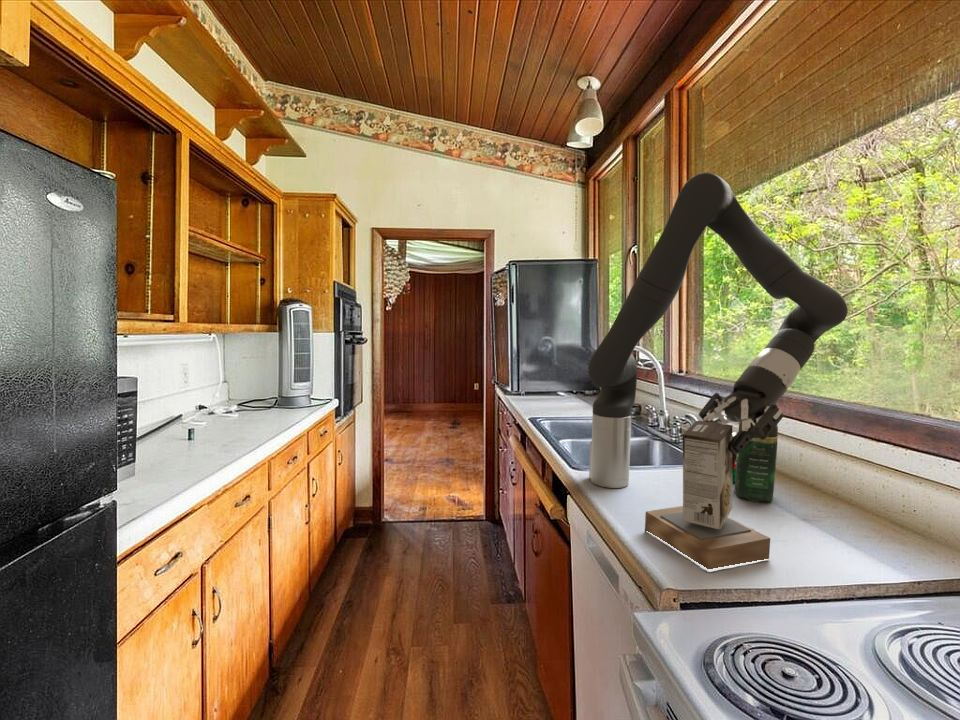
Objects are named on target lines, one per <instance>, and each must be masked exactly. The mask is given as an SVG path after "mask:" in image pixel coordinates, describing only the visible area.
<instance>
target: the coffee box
mask: <svg viewBox="0 0 960 720" xmlns="http://www.w3.org/2000/svg"><path fill="white" fill-rule="evenodd" d="M733 426H734V425H732V424H720V423H714V422H706V421H703V420H695V421H694V423H692V425H690V426H689V427H688V428H687V429H686V431H684V433H682V506H683V520H684V521H687V522H691V523H695V524H699V525H703V526H707V527H711V528H715V529H721V528H722V526H723V524H724V522H725V520H726V519H727V517H728V518H729V515H730V513H731V512H732V509H733V483H732V453H731V452H730V450H729V449H728V444H729V443H730V442H731V440H732V439H733V436H732V432H733Z"/></svg>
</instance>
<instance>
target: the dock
mask: <svg viewBox="0 0 960 720" xmlns="http://www.w3.org/2000/svg"><path fill="white" fill-rule="evenodd" d="M644 520H645V523H644V531H645V530H646V531H648V532H650V533H652V534H653V535H655V536H657V537H659V538H660V539H662V540H663V541H665V542H667V543H668V544H670V545H671V546H673V547H674V548H676V549H677V550H679V551H680V552H682V553H683V554H685V555H687V556H688V557H690V558H691V559H693V560H694V561H696V562H698V563H699V564H701V565H703V566H704V567H706V568H707V569H713V568H718V567H724V566H729V565H735V564H740V563H746V562H752V561H757V560H764V559H769V560H770V553H771V552H770V549H771V537H769V536H767V535H765V534H763V533H761V532H759V531H757V530H755V529H753V528H750V527H749V526H747V525H744V524H743V523H741V522H738V521H737V520H735V519H733V518H730V517H729V516H728V517H727V519H726V520H725V522H724V524H723V526H722V528H721V529H715V528H711V527H707V526H703V525H699V524H695V523H691V522H687V521H684V520H683V505H679V506H674V507H672V506H671V507H665V508H659V509H653V510H646V511H645V519H644Z"/></svg>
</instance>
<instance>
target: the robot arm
mask: <svg viewBox="0 0 960 720" xmlns="http://www.w3.org/2000/svg"><path fill="white" fill-rule="evenodd" d="M707 227H708V229H711V231H713V232H714V233H716V234H717V235H718V236H719V237H720V238H721V239H722V240H723V241H724V242H725V243H726V244H727V245H728V246H729V247H730V249H732V251H733V252H734V254H735V255H736V256H737V258H738V260H739V261H740V262H741V264H742V265H743V267H744V268H745V269H746V271H748V273H749V274H750V275H751V276H752V278H753V279H754V280H755V281H756V282H757V283H758V284H759V286H761V287H762V288H763V290H765V292H766V293H767V294H769V295H770V296H771V298H773V299H776V300H782V299H785V298H787V299H789V300H791V301H792V302H794V303H795V304H797V305H796V306H795V307H793V308H792V310H791V311H790V312H788V314H787V316H786V317H785V318H784V320H783V322H782V323H781V325H780V327H779V328H778V331H777V332H776V334H775V335H774V336H773V337H772V338H771V339H770V341H769V342H768V343H767V344H766V345H765V347H764V348H763V349H762V350H761V351H760V353H758V354H757V355H756V356H755V357H754V358H753V359H752V361H751V362H750V364H749V365H748V366H747V367H746V369H744V371H743V372H742V373H741V374H740V376H739V377H738V379H736V381H735V382H734V384H733V390H732V392H731V393H730V394H728V395H727V396H722V395H720V393H718V392H715V393H714V394H713V395H712V396H711V397H710V399H709V400H708V401H707V402H706V404H705V405H704V406H703V407H702V408H701V410H700V411H699V413H698V416H699V417H700V418H701V421H706V422H714V423H720V424H725V425H728V424H729V423H731V422H735V423H737V422H738V423H739V422H740V423H741V424H742V431H739V430H737V432H736V433H737V434H736V435H735V437H734V438H733V439H732V440H731V442H730V443H729V444H728V449H729V450H730V452H731V453H732V454H735V455H737V454H738V453H740V452H741V451H742V450H743V449H744V448H745V446H746V445H747V444H748V443H749V441H750V440H753V439H755V438H760V439H761V440H764V439H766V438H767V436H768V435H769V434H770V433H771V431H772V430H773V429H774V428H775V426H776V425H777V426H778V424H779V423H780V422H781V420H782V419H783V418H784V416H785V414H784V413H783V412H782V410H781V409H780V407H779V406H778V405H777V404H778V402H779V401H780V400H781V398H782V397H783V396H784V394H785V393H786V392H787V391H788V390H789V388H791V386H792V384H793V383H794V382H795V380H796V378H797V376H798V374H799V373H800V372H801V370H802V369H803V368H804V366H805V365H806V364H807V362H808V361H809V360H810V358H811V357H812V356H813V354H814V351H815V348H816V347H815V343H816V342H817V340H818V339H819V338H820V337H821V336H823V335H824V334H825V333H827V332H828V331H830V330H832V329H834V328H835V327H837V326H839V325H841V323H843V322H844V321H845V319H846V318H847V317H848V311H849V310H848V304H847V303H846V301H845V298H843V296H842V295H841V294H840V293H839V292H838V291H836V290H835V289H834V288H833V287H831V286H830V285H828V284H827V283H825V282H823V281H821V280H819V278H817V277H815V276H813V275H811V274H810V273H807V272H805V271H804V270H803V268H801V266H800V265H799V264H798V263H797V262H796V261H795V260H794V259H793V258H792V257H791V256H790V255H789V254H788V253H787V251H785V250H784V249H783V248H782V247H781V246H780V245H779V244H777V243H776V241H774V240H773V239H772V238H771V237H770V236H769V235H768V234H766V233H765V231H763V230H762V228H760V227H759V226H758V225H757V224H756V223H755V222H754V220H753V219H752V218H751V217H750V216H749V214H748V213H747V212H746V211H745V209H744V208H743V206H742V205H741V203H740V201H738V199H737V197H736V196H735V193H734V192H733V190H732V188H731V186H730V185H729V183H728V182H727V181H726V180H724V178H722V177H720V175H717V174H715V173H713V172H701V173H697V174H695V175H693V176H692V177H690V178H689V179H688V180H687V181H686V182H685V183H684V185H683V186H682V187H681V189H680V191H679V192H678V195H677V198H676V200H675V202H674V205H673V207H672V210H671V212H670V215H669V217H668V220H667V221H666V225H665V226H664V228H663V231H662V233H661V236H659V238H658V240H657V242H656V244H655V245H654V247H653V249H652V250H651V252H650V254H649V256H648V257H647V259H646V262H645V263H644V265H643V267H642V269H641V270H640V272H639V273H638V276H637V277H636V278H635V281H634V283H633V285H632V286H631V289H630V290H629V292H628V295H627V297H626V299H625V301H624V302H623V304H622V306H621V308H620V309H619V312H618V314H617V316H616V318H615V320H614V322H613V324H612V325H611V327H610V328H609V330H608V332H607V334H606V335H605V337H604V338H603V339H602V341H601V342H600V344H599V346H598V347H597V348H596V349H595V351H594V353H593V354H592V355H591V358H590V360H589V362H588V367H587V371H588V372H587V373H588V377H589V380H590V381H591V383H592V384H593V385H594V386H596V387H598V388H600V392H599V395H598V397H597V398H596V399H595V400H594V401H593V403H592V419H591V420H592V421H591V423H592V424H591V425H592V427H591V440H590V442H589V468H588V469H589V471H588V473H589V474H588V477H589V479H590V482H591V483H592V484H594V485H596V486H599V487H603V488H609V489H610V488H611V489H621V488H625V487H627V486H628V485H629V481H630V461H631V460H630V459H631V458H630V456H631V440H632V439H631V435H632V433H631V432H632V410H633V409H632V408H633V406H634V404H635V401H636V394H637V384H638V383H637V382H638V381H637V380H638V367H637V365H638V364H637V361H636V359H635V356H634V355H633V354H632V353H633V351H634V349H635V348H636V346H637V345H638V343H639V342H640V340H642V339H643V337H644V336H645V335H646V334H647V332H649V331H650V330H651V329H652V328H653V327H654V326H655V325H656V324H657V323H658V322H659V321H660V320H661V318H662V317H663V316H664V314H665V313H667V311H668V309H669V307H670V306H671V304H672V303H673V301H674V300H675V297H676V296H677V295H678V292H679V291H680V288H681V286H682V284H683V282H684V279H685V276H686V273H687V270H688V269H687V268H688V266H689V262H690V259H691V255H692V253H693V250H694V247H695V245H696V244H697V243H698V240H699V239H700V237H702V234H703V232H705V230H706V228H707ZM723 412H724V415H725V416H724V415H723V414H722V413H723ZM760 417H761V418H760ZM716 418H717V419H716ZM759 418H760V419H759ZM758 419H759V421H758ZM764 426H765V428H764V429H763V430H762V428H763V427H764Z"/></svg>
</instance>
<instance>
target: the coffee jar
mask: <svg viewBox="0 0 960 720" xmlns="http://www.w3.org/2000/svg"><path fill="white" fill-rule="evenodd" d="M760 418H761V417H760ZM760 418H759V419H760ZM759 419H758V421H759ZM738 423H739V424H738V431H742V424H741V423H740V422H738ZM764 428H765V426H764V427H763V428H762V430H763V429H764ZM778 435H779V427H778V424H777V425H776V426H775V428H774V429H773V430H772V431H771V433H770V434H769V435H768V436H767V438H766V439H764V440H761V439H760V438H755V439H753V440H750V441H749V443H748V444H747V445H746V446H745V448H744V449H743V450H742V451H741V452H740V453H738V454H737V462H736V476H735V483H734V492H735V494H736V495H737V496H738V497H740V498H743V499H745V500H749V501H752V502H757V503H758V502H759V503H760V502H771V501H772V500H773V498H774V490H775V480H776V479H775V478H776V468H777V454H778V440H779V439H778V437H779V436H778Z"/></svg>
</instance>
